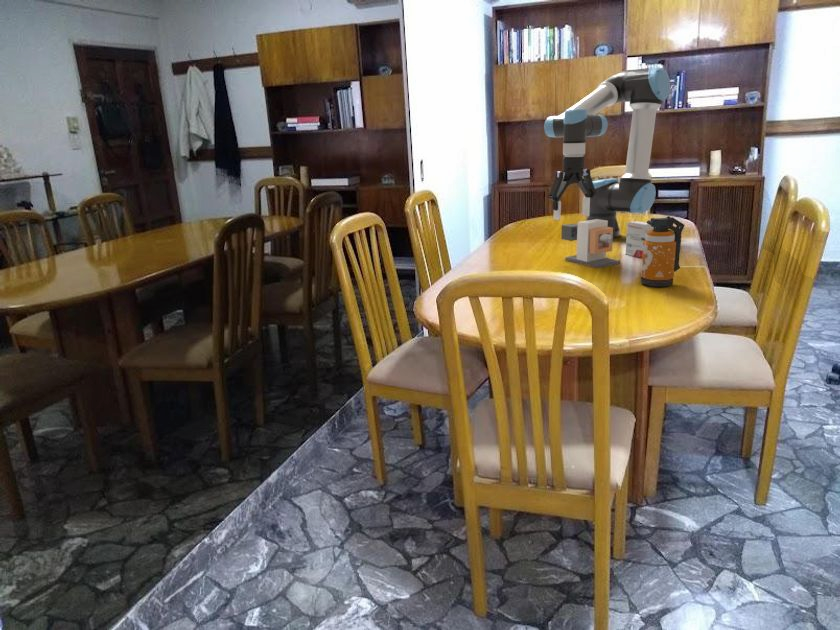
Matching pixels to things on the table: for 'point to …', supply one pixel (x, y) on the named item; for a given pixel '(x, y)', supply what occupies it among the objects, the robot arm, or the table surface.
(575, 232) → the shaft
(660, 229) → the canister
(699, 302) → the table surface
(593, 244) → the plate
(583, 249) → the bearing block
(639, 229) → the ink box
